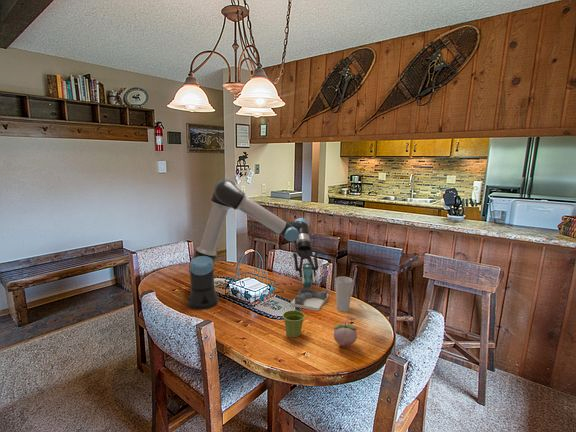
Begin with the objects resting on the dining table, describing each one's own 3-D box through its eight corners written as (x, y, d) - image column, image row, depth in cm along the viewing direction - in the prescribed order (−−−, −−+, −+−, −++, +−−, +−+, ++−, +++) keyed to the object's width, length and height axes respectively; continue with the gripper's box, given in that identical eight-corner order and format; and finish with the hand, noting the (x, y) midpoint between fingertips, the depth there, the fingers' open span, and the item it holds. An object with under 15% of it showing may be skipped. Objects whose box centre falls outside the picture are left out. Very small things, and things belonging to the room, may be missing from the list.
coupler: (312, 287, 170) (313, 266, 168) (303, 288, 169) (303, 266, 167) (311, 284, 175) (311, 263, 173) (302, 284, 174) (302, 263, 172)
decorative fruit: (353, 339, 134) (354, 317, 132) (358, 351, 126) (359, 327, 124) (331, 340, 133) (331, 317, 131) (334, 351, 125) (335, 328, 123)
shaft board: (318, 311, 158) (318, 301, 157) (290, 305, 164) (290, 295, 163) (328, 296, 175) (328, 287, 174) (302, 292, 180) (302, 283, 179)
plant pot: (291, 326, 144) (291, 308, 143) (308, 333, 138) (309, 314, 137) (278, 334, 137) (278, 315, 136) (295, 342, 131) (295, 323, 130)
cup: (351, 313, 156) (352, 283, 153) (333, 312, 157) (334, 282, 154) (351, 306, 164) (352, 277, 161) (334, 304, 165) (335, 275, 163)
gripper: (318, 246, 185) (324, 284, 172) (287, 247, 183) (291, 286, 170) (320, 239, 179) (326, 278, 166) (288, 240, 177) (292, 280, 164)
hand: (308, 282), depth 168 cm, fingers closed on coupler, 5 cm apart
